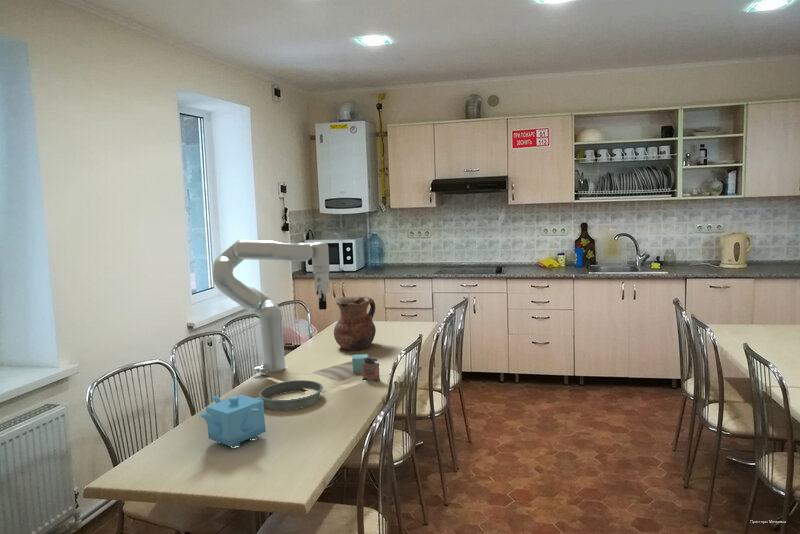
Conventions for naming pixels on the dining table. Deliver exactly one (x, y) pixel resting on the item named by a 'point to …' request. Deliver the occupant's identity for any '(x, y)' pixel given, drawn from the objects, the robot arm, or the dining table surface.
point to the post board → (339, 372)
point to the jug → (355, 323)
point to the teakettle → (235, 419)
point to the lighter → (370, 369)
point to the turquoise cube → (358, 362)
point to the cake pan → (288, 387)
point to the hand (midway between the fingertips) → (322, 309)
